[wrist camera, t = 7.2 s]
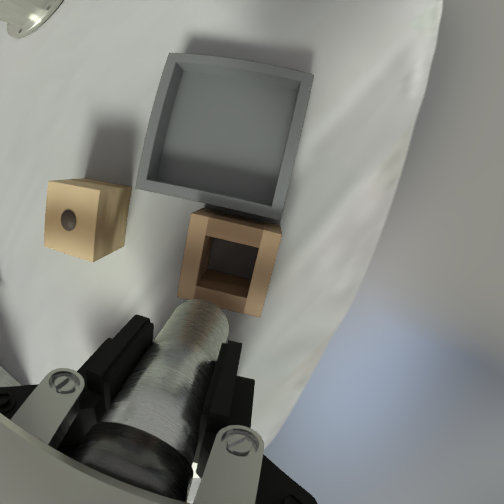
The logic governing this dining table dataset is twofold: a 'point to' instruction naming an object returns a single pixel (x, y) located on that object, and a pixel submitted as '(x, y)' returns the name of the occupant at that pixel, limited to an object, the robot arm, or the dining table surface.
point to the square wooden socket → (220, 284)
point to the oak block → (86, 217)
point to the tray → (225, 132)
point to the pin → (161, 406)
